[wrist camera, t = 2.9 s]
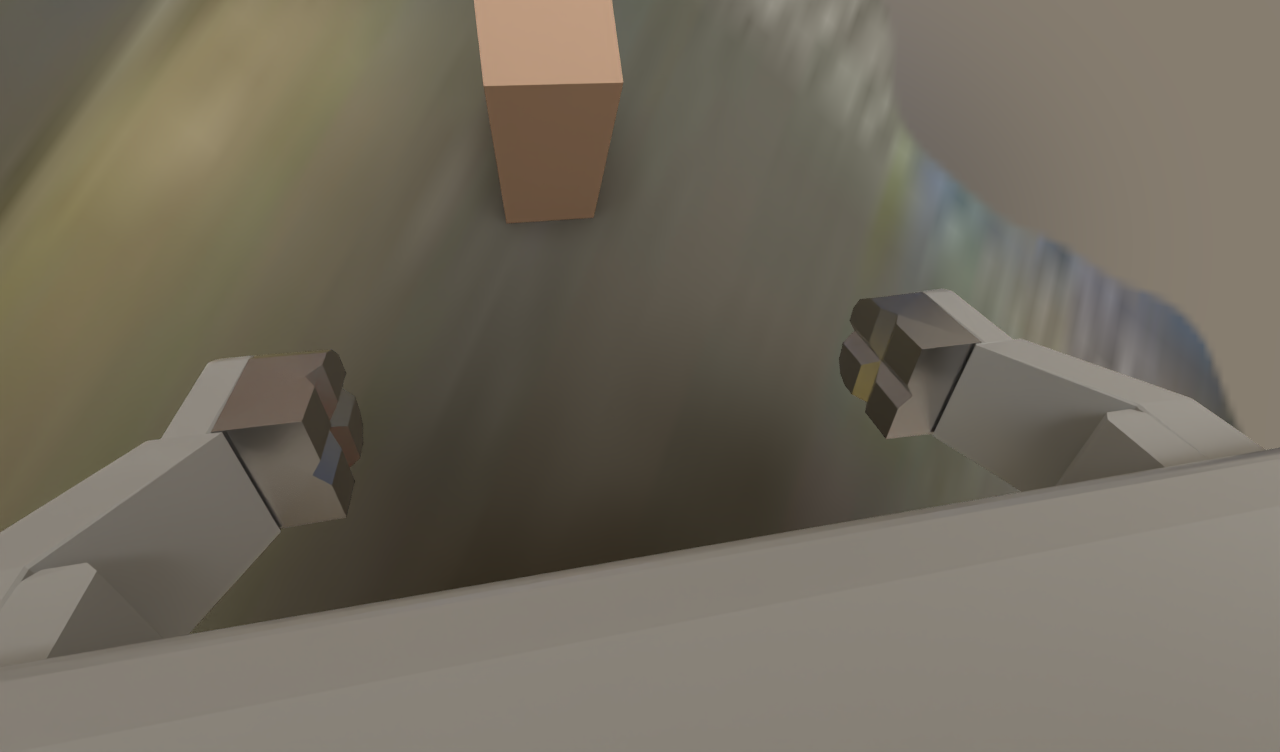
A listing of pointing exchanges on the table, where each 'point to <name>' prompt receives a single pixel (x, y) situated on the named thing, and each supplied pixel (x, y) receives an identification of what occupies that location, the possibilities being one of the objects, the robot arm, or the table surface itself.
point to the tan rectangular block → (549, 101)
